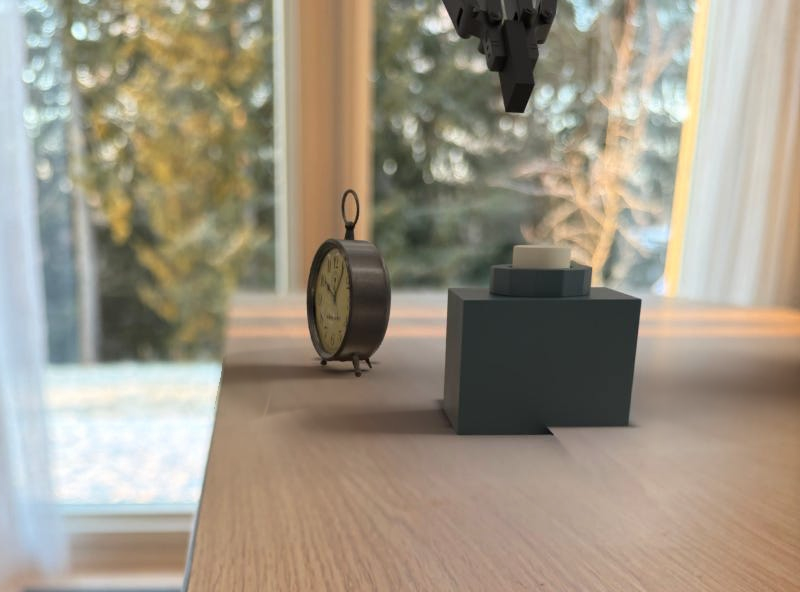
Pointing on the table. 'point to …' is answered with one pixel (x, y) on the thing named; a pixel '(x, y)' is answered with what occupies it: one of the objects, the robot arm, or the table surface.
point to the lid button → (541, 256)
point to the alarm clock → (348, 297)
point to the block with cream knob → (539, 353)
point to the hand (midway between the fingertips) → (519, 98)
